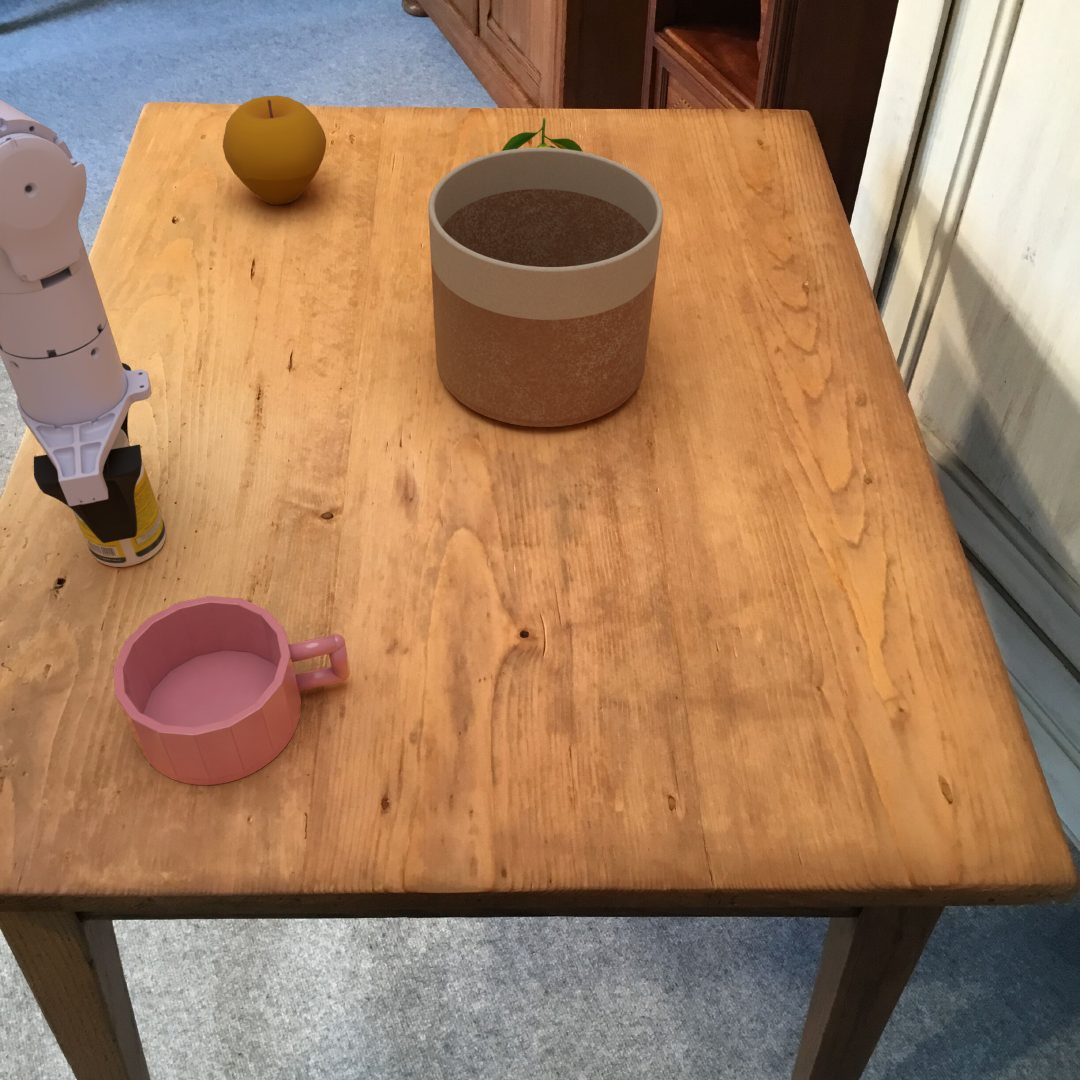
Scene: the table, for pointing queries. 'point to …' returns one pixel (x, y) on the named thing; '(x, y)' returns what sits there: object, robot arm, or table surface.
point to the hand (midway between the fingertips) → (116, 506)
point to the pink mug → (217, 687)
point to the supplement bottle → (148, 525)
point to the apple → (274, 147)
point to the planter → (543, 283)
